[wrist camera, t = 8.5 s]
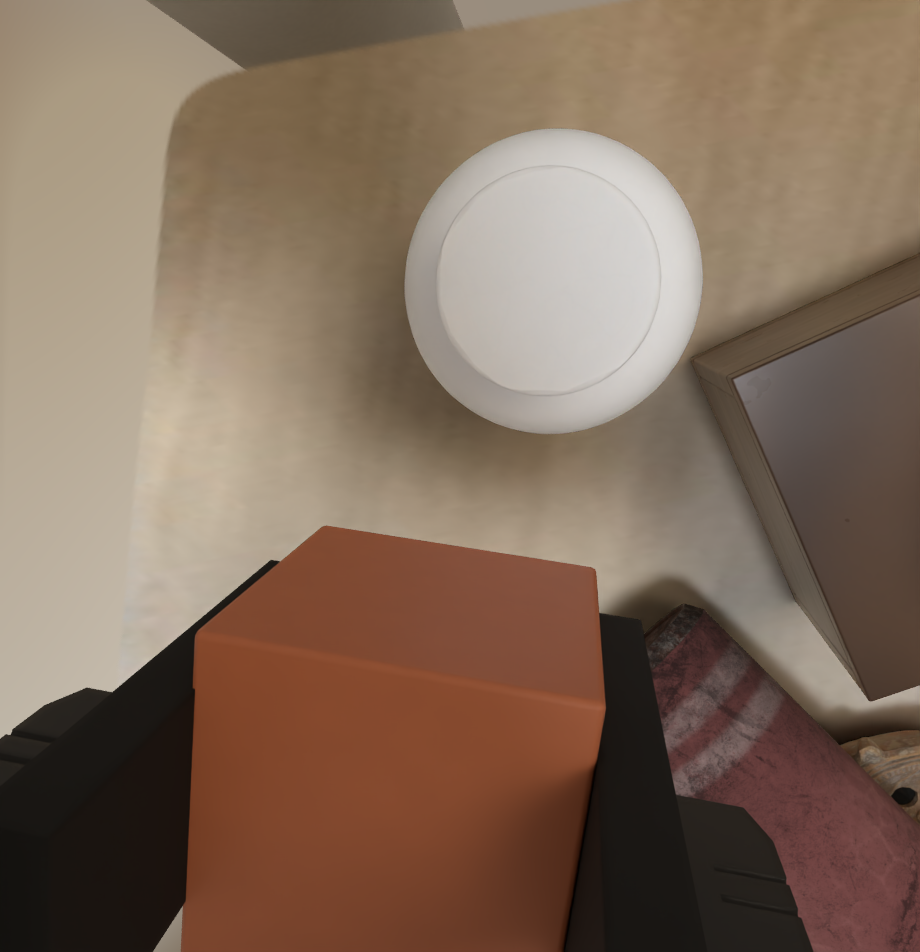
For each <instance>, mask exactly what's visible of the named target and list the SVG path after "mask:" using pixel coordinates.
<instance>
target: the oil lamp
mask: <svg viewBox="0 0 920 952" xmlns="http://www.w3.org/2000/svg"><path fill="white" fill-rule="evenodd" d="M840 746H841V747H842V748H843V749H844V750H845V751H846V752H847V753H848V754H849V755H850V756H851V757H852V758H853V759H854V760H855V761H856V762H857V763H858V764H859V765H860V766H861V767H862V768H863V769H864V770H865V771H866V772H867V773H868V774H869V775H870V776H871V777H872V778H873V779H874V780H875V781H876V782H877V783H878V784H879V785H880V786H881V787H882V788H883V789H884V790H885V791H886V792H887V793H888V794H889V795H890V796H891V797H892V798H893V799H894V800H895V801H896V802H897V803H898V804H899V805H900V806H901V807H902V808H903V809H904V810H905V811H906V812H907V813H908V814H909V815H910V816H911V817H912V818H913V819H914V820H915V821H916V822H917V823H918V824H919V825H920V730H906V731H898V732H891V733H885V734H881V735H876V736H872V737H868V738H867V737H862V738H860V739H858V740H854V741H850V742H847V743H844V744H842V745H840Z"/></svg>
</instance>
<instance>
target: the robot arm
mask: <svg viewBox="0 0 920 952" xmlns="http://www.w3.org/2000/svg"><path fill="white" fill-rule="evenodd" d="M279 562H280V561H274V560H270V561H269V562H268V563H267V564H265V565H264V566H263V567H262V568H261V569H259V570H258V571H257V572H256V573H255V574H253V575H252V576H251V577H250V578H249V579H247V580H246V581H245V582H244V583H243V584H241V585H240V586H239V587H238V588H237V589H235V590H234V591H233V592H232V593H231V594H230V595H228V596H227V597H226V598H225V599H224V600H222V601H221V602H220V603H219V604H218V605H216V606H215V607H214V608H213V609H212V610H210V611H209V612H208V613H207V614H206V615H204V616H203V617H202V618H201V619H200V620H198V621H197V622H196V623H195V624H194V625H192V626H191V627H190V628H189V629H188V630H186V631H185V632H184V633H183V634H182V635H180V636H179V637H178V638H177V639H176V640H174V641H173V642H172V643H171V644H170V645H168V646H167V647H166V648H165V649H164V650H162V651H161V652H160V653H159V654H158V655H156V656H155V657H154V658H153V659H152V660H150V661H149V662H148V663H147V664H146V665H144V666H143V667H142V668H141V669H140V670H139V671H137V672H136V673H135V674H134V675H133V676H131V677H130V678H129V679H128V680H127V681H125V682H124V683H123V684H122V685H121V686H119V687H118V688H117V689H116V690H115V691H113V692H107V691H102V690H96V689H91V688H85V689H83V690H80V691H78V692H76V693H73V694H71V695H69V696H66V697H63V698H61V699H59V700H56V701H54V702H51V703H49V704H47V705H44V706H43V707H42V708H40V709H39V710H38V711H36V712H35V713H34V714H33V715H31V716H30V717H28V718H27V719H26V720H24V721H23V722H22V723H20V724H19V725H18V726H16V727H15V728H14V729H13V730H12V733H11V735H7V734H6V735H5V736H3V737H2V738H1V739H0V952H153V950H154V949H155V947H156V946H157V944H158V943H159V941H160V940H161V938H162V937H163V935H164V934H165V932H166V931H167V929H168V927H169V926H170V924H171V923H172V921H173V920H174V918H175V917H176V915H177V914H178V912H179V911H180V909H181V908H182V906H183V905H184V903H185V902H186V882H187V860H188V837H189V815H190V793H191V770H192V748H193V725H194V703H195V689H194V688H193V668H194V646H195V635H196V633H197V631H198V630H199V629H200V628H202V627H203V626H204V625H205V624H206V623H208V622H209V621H210V620H211V619H212V618H213V617H215V616H216V615H217V614H218V613H219V612H221V611H222V610H223V609H224V608H225V607H227V606H228V605H229V604H230V603H231V602H233V601H234V600H235V599H236V598H237V597H239V596H240V595H241V594H242V593H243V592H245V591H246V590H247V589H248V588H249V587H251V586H252V585H253V584H254V583H255V582H257V581H258V580H259V579H260V578H261V577H263V576H264V575H265V574H266V573H267V572H269V571H270V570H271V569H272V568H273V567H275V566H276V565H277V564H278V563H279ZM599 619H600V633H601V647H602V661H603V675H604V689H605V703H606V711H605V717H604V723H603V728H602V734H601V740H600V746H599V752H598V757H597V763H596V769H595V775H594V780H593V786H592V792H591V798H590V804H589V809H588V815H587V821H586V827H585V832H584V838H583V844H582V850H581V856H580V861H579V867H578V873H577V879H576V884H575V890H574V896H573V902H572V908H571V913H570V919H569V925H568V931H567V936H566V942H565V948H564V952H814V951H813V948H812V946H811V943H810V940H809V937H808V935H807V932H806V929H805V927H804V924H803V921H802V918H801V917H798V907H797V905H796V902H795V899H794V896H793V894H792V891H791V888H790V885H787V884H786V880H787V877H786V874H785V872H784V869H783V866H782V864H781V861H780V858H779V855H778V853H777V850H776V847H775V844H774V842H773V840H772V839H771V838H770V837H769V836H768V835H767V833H766V832H765V831H764V830H763V829H762V828H761V827H760V826H759V824H758V823H757V822H756V821H755V820H754V819H753V818H752V816H751V815H750V814H749V813H748V812H747V811H746V810H745V808H744V807H739V806H733V805H728V804H723V803H717V802H712V801H707V800H701V799H696V798H691V797H685V796H680V795H676V792H675V788H674V783H673V778H672V773H671V768H670V763H669V758H668V753H667V748H666V743H665V738H664V733H663V728H662V723H661V718H660V713H659V708H658V703H657V698H656V693H655V688H654V683H653V678H652V673H651V668H650V663H649V658H648V653H647V648H646V643H645V638H644V633H643V628H642V623H641V620H638V619H632V618H626V617H620V616H613V615H607V614H601V613H599Z"/></svg>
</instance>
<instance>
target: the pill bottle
mask: <svg viewBox="0 0 920 952" xmlns="http://www.w3.org/2000/svg"><path fill="white" fill-rule="evenodd" d="M702 286H703V271H702V258H701V251H700V246H699V241H698V237H697V234H696V230H695V227H694V225H693V222H692V219H691V217H690V215H689V212H688V210H687V208H686V206H685V205H684V203H683V201H682V199H681V197H680V196H679V194H678V193H677V191H676V190H675V189H674V187H673V186H672V185H671V183H670V182H669V181H668V180H667V178H666V177H665V176H664V175H663V174H662V173H661V172H660V171H659V170H658V169H657V168H656V167H655V166H654V165H653V164H652V163H650V162H649V161H648V160H647V159H646V158H644V157H643V156H641V155H640V154H638V153H637V152H635V151H634V150H632V149H631V148H629V147H628V146H626V145H624V144H622V143H620V142H618V141H615V140H613V139H610V138H608V137H605V136H602V135H599V134H596V133H592V132H587V131H582V130H575V129H563V128H552V129H539V130H533V131H528V132H523V133H520V134H516V135H513V136H510V137H507V138H505V139H502V140H500V141H497V142H495V143H493V144H491V145H489V146H487V147H485V148H484V149H482V150H480V151H479V152H477V153H476V154H474V155H473V156H472V157H470V158H469V159H467V160H466V161H465V162H463V163H462V164H461V165H460V166H459V167H458V168H457V169H456V170H455V171H453V172H452V173H451V174H450V175H449V176H448V177H447V178H446V180H445V181H444V182H443V183H442V184H441V185H440V186H439V187H438V189H437V190H436V192H435V193H434V195H433V196H432V198H431V199H430V201H429V202H428V204H427V206H426V207H425V209H424V211H423V213H422V215H421V217H420V219H419V221H418V223H417V225H416V228H415V231H414V233H413V236H412V239H411V243H410V247H409V250H408V255H407V261H406V271H405V286H404V287H405V303H406V310H407V315H408V320H409V324H410V327H411V331H412V334H413V337H414V340H415V343H416V345H417V347H418V349H419V352H420V354H421V356H422V358H423V359H424V361H425V363H426V365H427V366H428V368H429V369H430V371H431V372H432V374H433V375H434V376H435V378H436V379H437V380H438V381H439V383H440V384H441V385H442V386H443V387H444V388H445V389H446V390H447V391H448V392H449V393H450V394H451V395H452V396H453V397H454V398H455V399H456V400H457V401H459V402H460V403H461V404H463V405H464V406H465V407H467V408H468V409H469V410H471V411H473V412H474V413H476V414H477V415H479V416H481V417H483V418H485V419H487V420H489V421H491V422H493V423H496V424H498V425H501V426H504V427H507V428H511V429H514V430H518V431H523V432H529V433H536V434H562V433H571V432H577V431H582V430H586V429H589V428H593V427H596V426H599V425H601V424H604V423H606V422H608V421H611V420H613V419H615V418H617V417H619V416H621V415H622V414H624V413H626V412H627V411H629V410H630V409H632V408H633V407H635V406H636V405H638V404H639V403H641V402H642V401H643V400H645V399H646V398H647V397H648V396H649V395H650V394H651V393H652V392H653V391H655V390H656V389H657V388H658V387H659V386H660V384H661V383H662V382H663V381H664V380H665V379H666V377H667V376H668V375H669V374H670V372H671V371H672V370H673V368H674V367H675V366H676V364H677V362H678V361H679V359H680V357H681V356H682V354H683V352H684V350H685V348H686V346H687V344H688V342H689V340H690V338H691V335H692V333H693V330H694V327H695V324H696V320H697V317H698V312H699V308H700V303H701V297H702Z"/></svg>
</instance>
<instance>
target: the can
mask: <svg viewBox="0 0 920 952" xmlns="http://www.w3.org/2000/svg"><path fill="white" fill-rule="evenodd" d="M644 638H645V643H646V648H647V653H648V658H649V663H650V668H651V673H652V678H653V683H654V688H655V693H656V698H657V703H658V708H659V713H660V718H661V723H662V728H663V733H664V738H665V743H666V748H667V753H668V758H669V763H670V768H671V773H672V778H673V783H674V788H675V792H676V795H680V796H685V797H691V798H696V799H701V800H707V801H712V802H717V803H723V804H728V805H733V806H739V807H744V808H745V810H746V811H747V812H748V813H749V814H750V815H751V816H752V818H753V819H754V820H755V821H756V822H757V823H758V824H759V826H760V827H761V828H762V829H763V830H764V831H765V832H766V833H767V835H768V836H769V837H770V838H771V839H772V840H773V842H774V844H775V847H776V850H777V853H778V855H779V858H780V861H781V864H782V866H783V869H784V872H785V874H786V877H787V880H786V884H787V885H790V888H791V891H792V894H793V896H794V899H795V902H796V905H797V907H798V917H801V918H802V921H803V924H804V927H805V929H806V932H807V935H808V937H809V940H810V943H811V946H812V948H813V951H814V952H920V825H919V824H918V823H917V822H916V821H915V820H914V819H913V818H912V817H911V816H910V815H909V814H908V813H907V812H906V811H905V810H904V809H903V808H902V807H901V806H900V805H899V804H898V803H897V802H896V801H895V800H894V799H893V798H892V797H891V796H890V795H889V794H888V793H887V792H886V791H885V790H884V789H883V788H882V787H881V786H880V785H879V784H878V783H877V782H876V781H875V780H874V779H873V778H872V777H871V776H870V775H869V774H868V773H867V772H866V771H865V770H864V769H863V768H862V767H861V766H860V765H859V764H858V763H857V762H856V761H855V760H854V759H853V758H852V757H851V756H850V755H849V754H848V753H847V752H846V751H845V750H844V749H843V748H842V747H841V746H840V745H839V744H838V743H837V742H836V741H835V740H834V739H833V738H832V737H831V736H830V735H829V734H828V733H827V732H826V731H825V730H824V729H823V728H822V727H821V726H820V725H819V724H818V723H817V722H816V721H815V720H814V719H813V718H812V717H811V716H810V715H809V714H808V713H807V712H806V711H805V710H804V709H803V708H802V707H801V706H800V705H799V704H798V703H797V702H796V701H795V700H794V699H793V698H792V697H791V696H790V695H789V694H788V693H787V692H786V691H785V690H784V689H783V688H782V687H781V686H780V685H779V684H778V683H777V682H776V681H775V680H774V679H773V678H772V677H771V676H770V675H769V674H768V673H767V672H766V671H765V670H764V669H763V668H762V667H761V666H760V665H759V664H758V663H757V662H756V661H755V660H754V659H753V658H752V657H751V656H750V655H749V654H748V653H747V652H746V651H745V650H744V649H743V648H742V647H741V646H740V645H739V644H738V643H737V642H736V641H735V640H734V639H733V638H732V637H731V636H730V635H729V634H728V633H727V632H726V631H725V630H724V629H723V628H722V627H721V626H720V625H719V624H718V623H717V622H716V621H715V620H714V619H713V618H712V617H711V616H710V615H709V614H708V613H707V612H706V611H705V610H704V609H701V608H697V607H694V606H690V605H687V604H681V605H680V606H678V607H677V608H675V609H674V610H672V611H671V612H670V613H668V614H667V615H666V616H664V617H663V618H662V619H661V620H660V621H658V622H657V623H656V624H655V625H654V626H653V627H651V628H650V629H649V630H648V631H647V632H646V633H645V634H644Z"/></svg>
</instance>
